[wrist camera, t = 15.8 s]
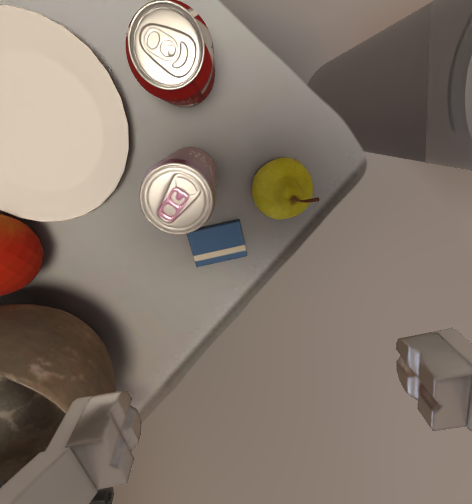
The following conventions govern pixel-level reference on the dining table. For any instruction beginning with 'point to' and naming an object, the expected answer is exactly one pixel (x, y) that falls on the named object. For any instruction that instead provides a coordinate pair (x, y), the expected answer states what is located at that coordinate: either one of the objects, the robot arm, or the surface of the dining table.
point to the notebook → (217, 243)
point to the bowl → (43, 377)
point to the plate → (55, 121)
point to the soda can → (171, 52)
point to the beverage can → (179, 191)
